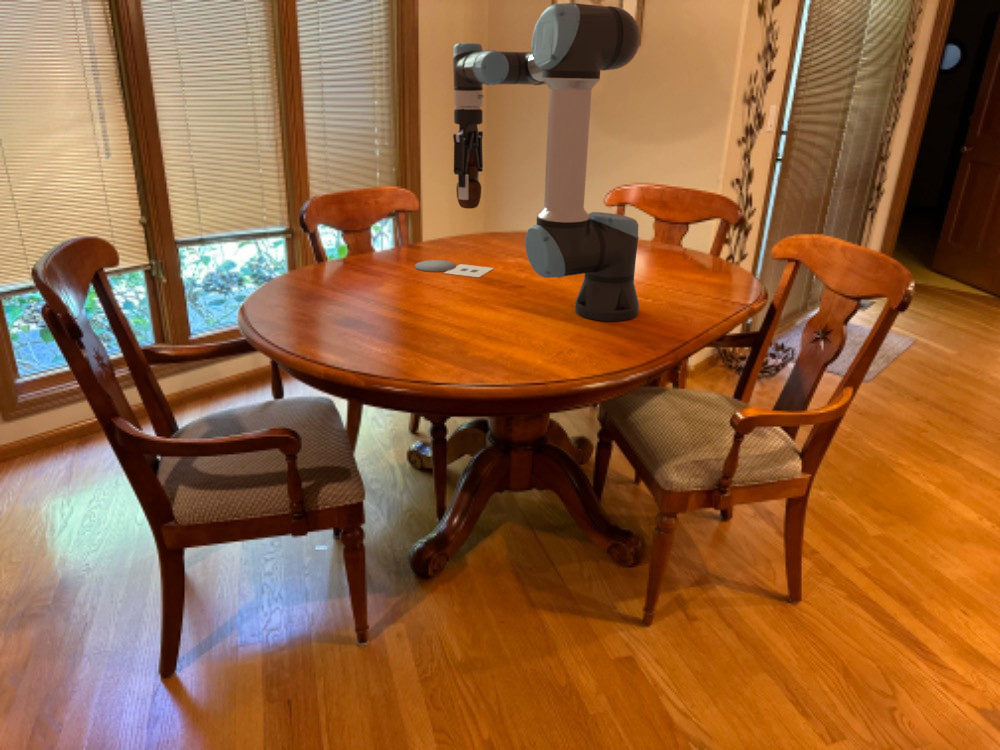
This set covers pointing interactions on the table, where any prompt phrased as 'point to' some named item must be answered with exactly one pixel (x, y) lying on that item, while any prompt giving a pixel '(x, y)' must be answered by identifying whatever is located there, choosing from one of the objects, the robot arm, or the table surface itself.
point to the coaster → (435, 266)
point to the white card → (469, 270)
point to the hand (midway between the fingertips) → (468, 197)
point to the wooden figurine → (471, 185)
